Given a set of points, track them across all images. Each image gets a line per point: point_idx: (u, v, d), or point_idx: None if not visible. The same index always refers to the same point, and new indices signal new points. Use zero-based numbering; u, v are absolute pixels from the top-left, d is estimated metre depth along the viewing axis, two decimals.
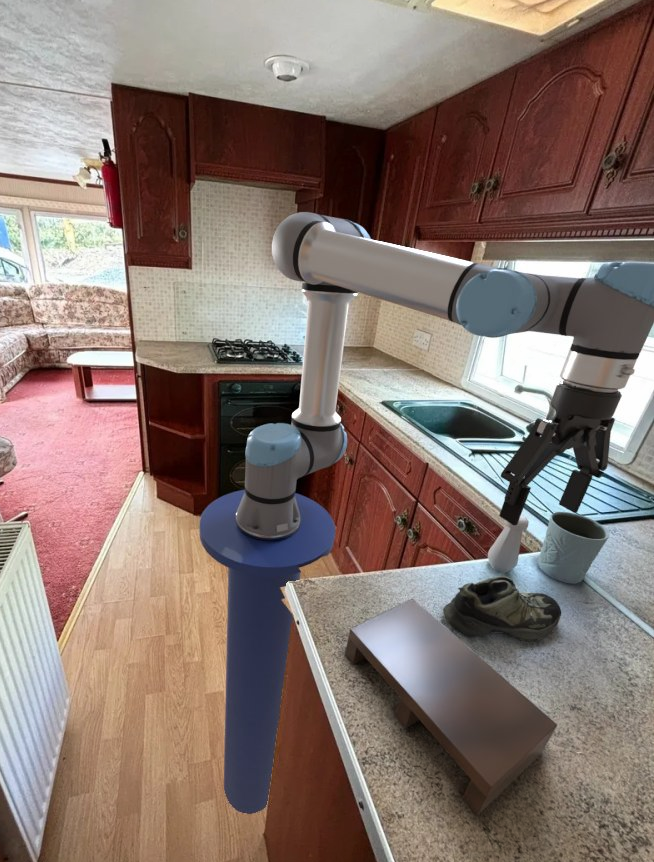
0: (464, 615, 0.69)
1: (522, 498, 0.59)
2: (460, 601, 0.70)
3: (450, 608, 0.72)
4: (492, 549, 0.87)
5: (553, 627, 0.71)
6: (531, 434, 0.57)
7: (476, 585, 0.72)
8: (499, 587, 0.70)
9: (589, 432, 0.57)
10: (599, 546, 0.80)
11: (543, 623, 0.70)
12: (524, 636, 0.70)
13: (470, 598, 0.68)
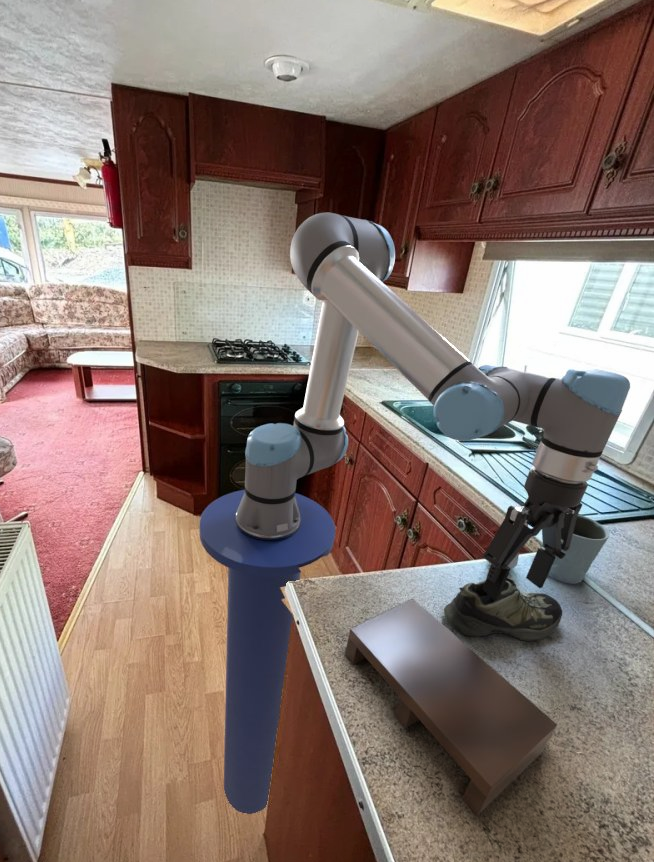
0: (464, 615, 0.70)
1: (503, 577, 0.65)
2: (460, 601, 0.70)
3: (450, 608, 0.72)
4: None
5: (554, 627, 0.71)
6: (505, 520, 0.62)
7: (477, 585, 0.72)
8: None
9: (559, 515, 0.62)
10: (599, 546, 0.80)
11: (544, 623, 0.70)
12: (525, 636, 0.70)
13: (471, 598, 0.68)
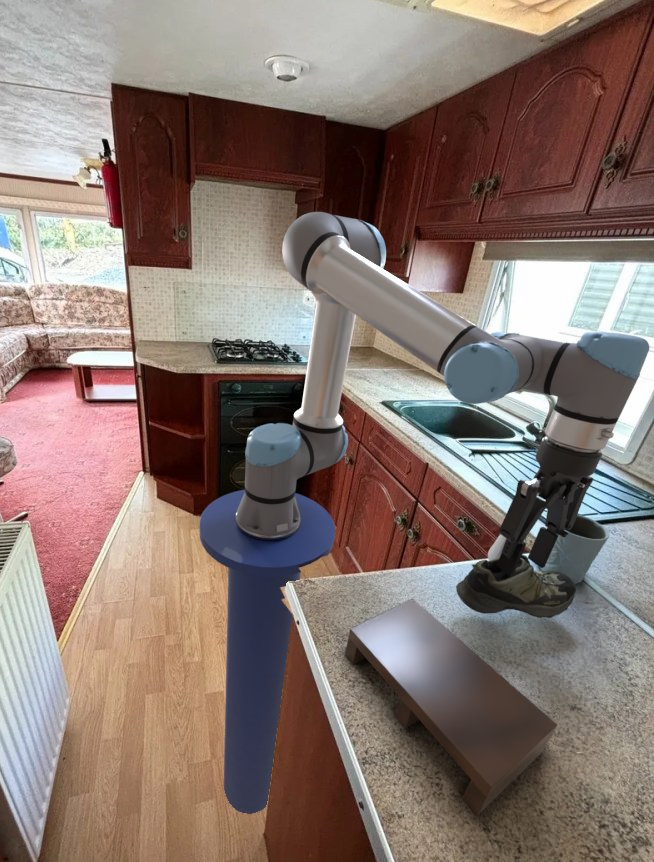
0: (477, 592, 0.69)
1: (518, 553, 0.64)
2: (473, 578, 0.70)
3: (463, 585, 0.72)
4: (492, 549, 0.87)
5: (568, 604, 0.70)
6: (517, 495, 0.61)
7: (490, 562, 0.71)
8: None
9: (571, 486, 0.60)
10: (599, 546, 0.80)
11: (558, 600, 0.69)
12: (539, 613, 0.69)
13: (483, 574, 0.68)
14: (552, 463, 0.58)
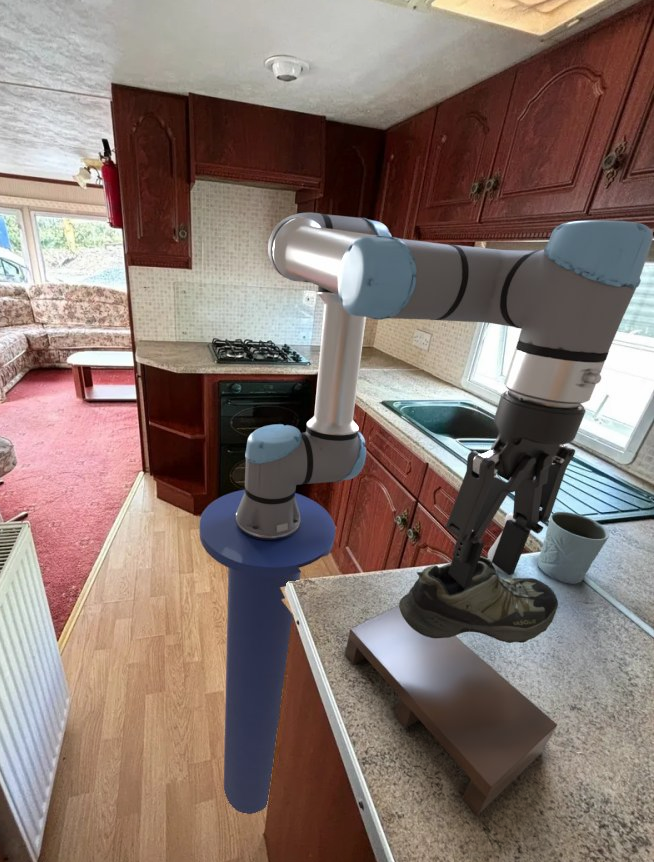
0: (424, 610, 0.51)
1: (474, 556, 0.46)
2: (419, 591, 0.51)
3: (407, 600, 0.53)
4: (492, 549, 0.87)
5: (547, 623, 0.52)
6: (467, 474, 0.43)
7: (442, 569, 0.53)
8: None
9: (544, 460, 0.42)
10: (599, 546, 0.80)
11: (533, 618, 0.51)
12: (507, 636, 0.51)
13: (431, 586, 0.50)
14: (514, 426, 0.40)
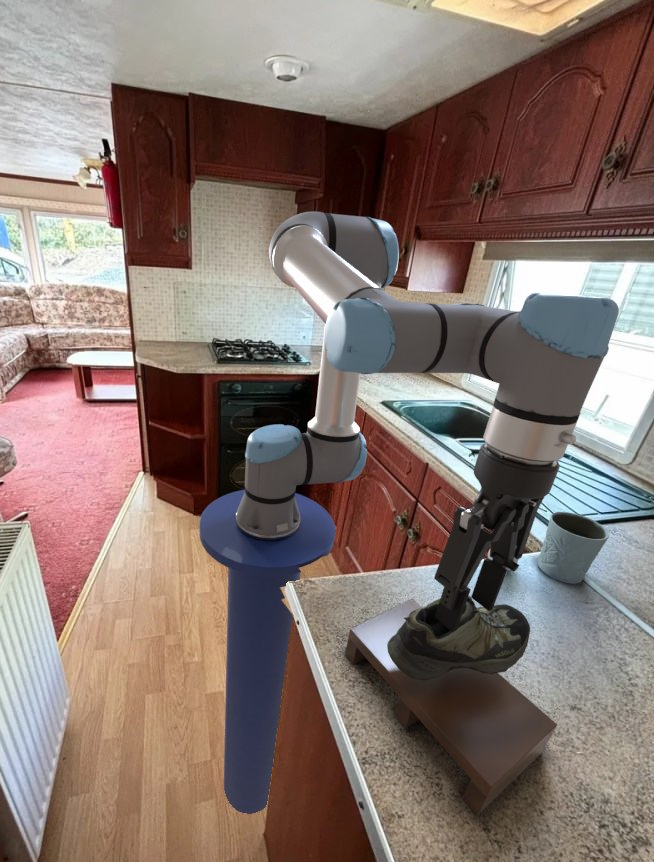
0: (414, 654, 0.52)
1: (461, 602, 0.47)
2: (407, 636, 0.52)
3: (395, 644, 0.54)
4: None
5: (523, 650, 0.55)
6: (454, 528, 0.44)
7: (426, 610, 0.54)
8: None
9: (522, 509, 0.44)
10: (599, 546, 0.80)
11: (511, 648, 0.54)
12: (491, 669, 0.53)
13: (420, 632, 0.50)
14: (497, 482, 0.41)
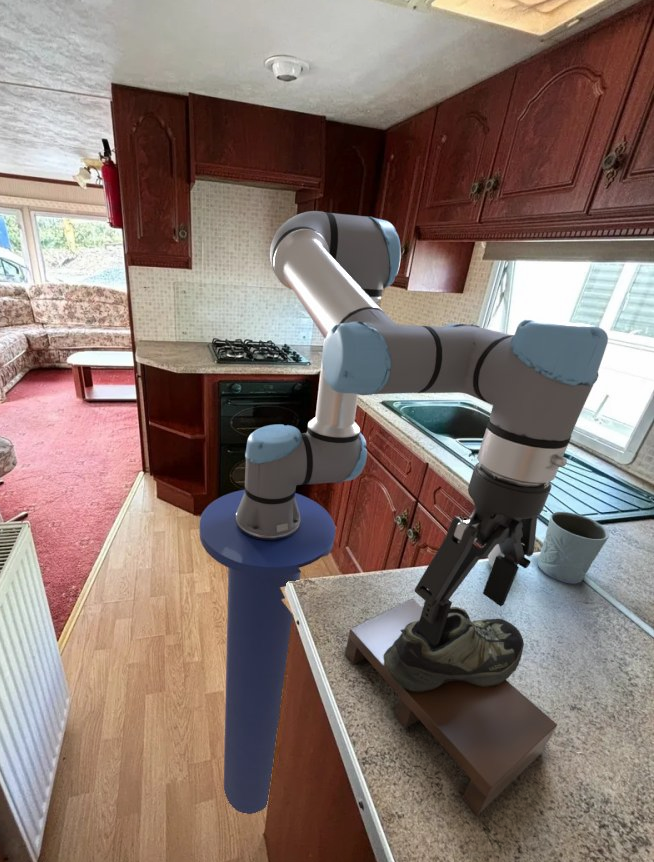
0: (409, 666, 0.53)
1: (442, 616, 0.46)
2: (403, 648, 0.53)
3: (391, 656, 0.55)
4: None
5: (516, 664, 0.56)
6: (447, 538, 0.44)
7: None
8: (450, 622, 0.54)
9: (515, 527, 0.45)
10: (599, 546, 0.80)
11: (505, 662, 0.55)
12: (484, 682, 0.54)
13: (416, 644, 0.52)
14: (491, 502, 0.42)
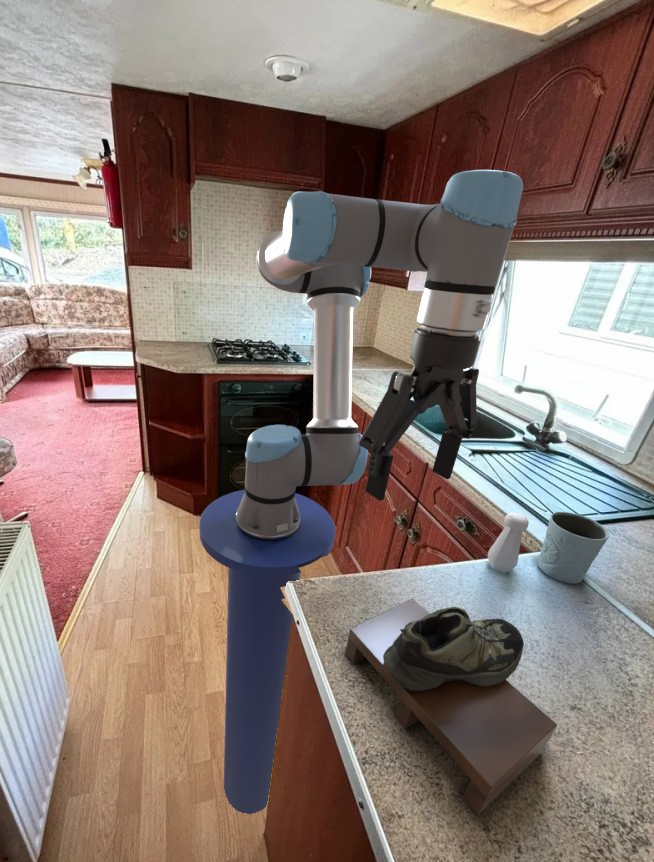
0: (409, 666, 0.53)
1: (385, 469, 0.51)
2: (403, 647, 0.53)
3: (391, 655, 0.55)
4: (492, 549, 0.87)
5: (516, 664, 0.56)
6: (388, 392, 0.48)
7: (422, 622, 0.55)
8: (450, 622, 0.54)
9: (451, 386, 0.49)
10: (599, 546, 0.80)
11: (504, 662, 0.55)
12: (484, 682, 0.54)
13: (415, 643, 0.52)
14: (426, 355, 0.47)
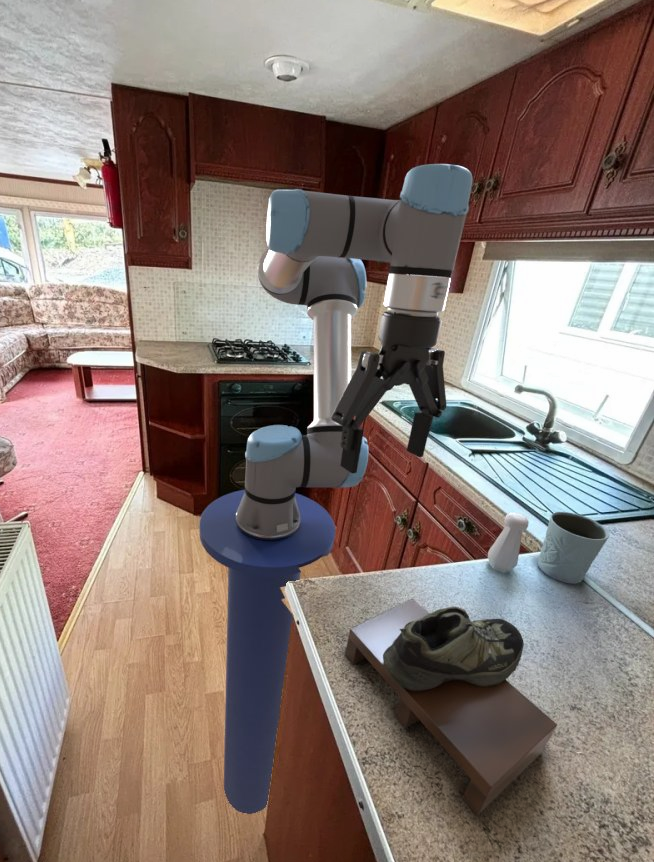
0: (409, 665, 0.53)
1: (356, 442, 0.54)
2: (403, 647, 0.53)
3: (391, 655, 0.55)
4: (492, 549, 0.87)
5: (516, 664, 0.56)
6: (357, 369, 0.52)
7: (422, 622, 0.56)
8: (450, 622, 0.54)
9: (417, 365, 0.53)
10: (599, 546, 0.80)
11: (504, 661, 0.55)
12: (484, 681, 0.54)
13: (415, 643, 0.52)
14: (391, 335, 0.51)
